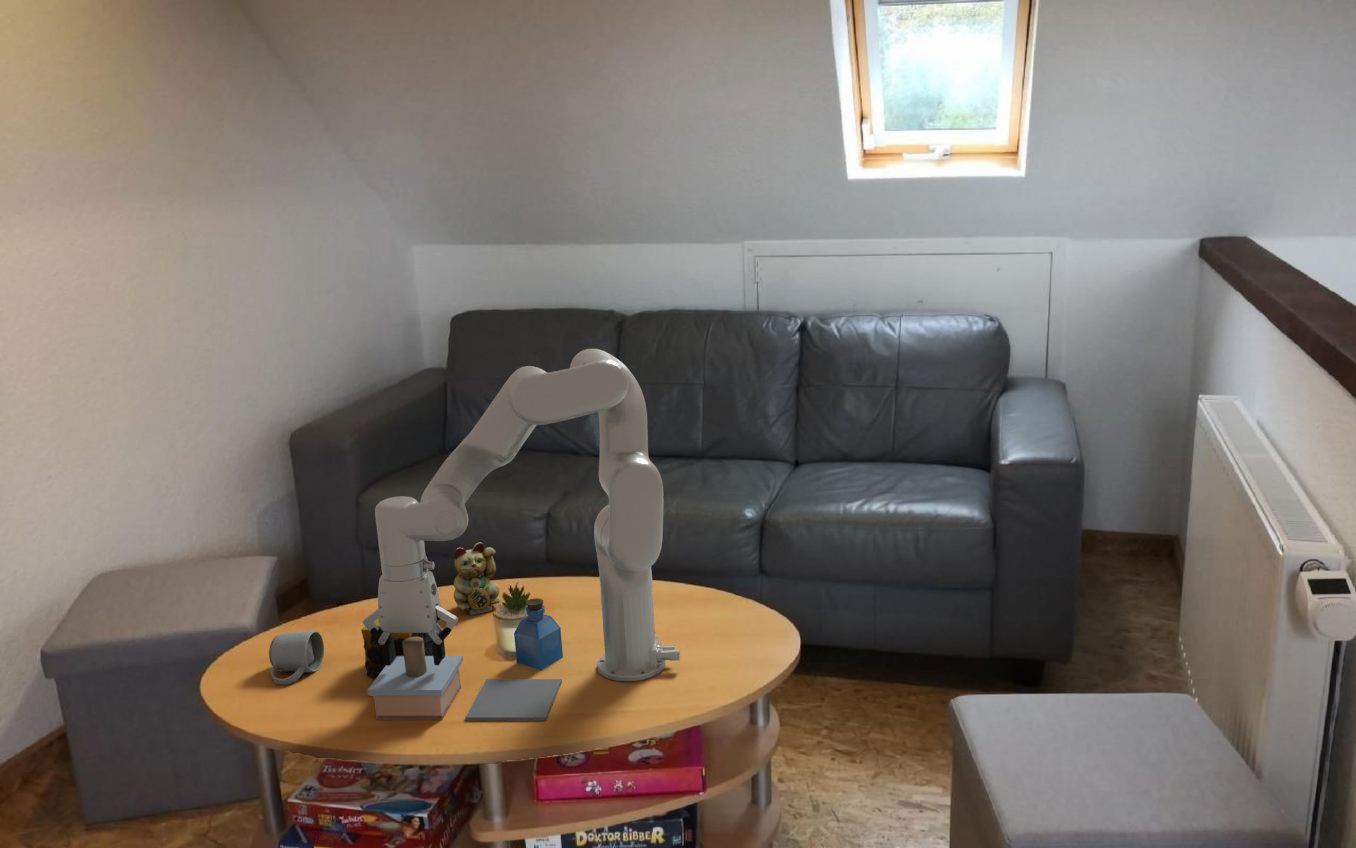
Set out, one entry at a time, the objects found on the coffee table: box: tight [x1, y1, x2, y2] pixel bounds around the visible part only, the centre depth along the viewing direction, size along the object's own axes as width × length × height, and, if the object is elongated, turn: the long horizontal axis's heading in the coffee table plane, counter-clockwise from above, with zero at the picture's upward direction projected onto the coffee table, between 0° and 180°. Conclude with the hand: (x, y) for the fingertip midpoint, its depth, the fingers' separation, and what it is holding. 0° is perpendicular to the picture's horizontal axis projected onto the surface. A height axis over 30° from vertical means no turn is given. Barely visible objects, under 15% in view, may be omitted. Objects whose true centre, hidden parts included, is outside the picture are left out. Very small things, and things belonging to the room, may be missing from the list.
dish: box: [373, 668, 462, 721], centre depth 198 cm, size 12×12×5 cm
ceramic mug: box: [268, 630, 325, 686], centre depth 213 cm, size 11×8×8 cm
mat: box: [465, 678, 563, 722], centre depth 198 cm, size 14×14×1 cm
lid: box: [367, 637, 464, 696], centre depth 197 cm, size 13×13×7 cm
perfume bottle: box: [513, 597, 564, 671], centre depth 212 cm, size 6×6×12 cm
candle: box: [361, 618, 434, 680], centre depth 212 cm, size 10×10×10 cm
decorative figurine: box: [453, 542, 501, 616], centre depth 238 cm, size 10×8×15 cm
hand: (415, 661), depth 197 cm, fingers open, 8 cm apart
